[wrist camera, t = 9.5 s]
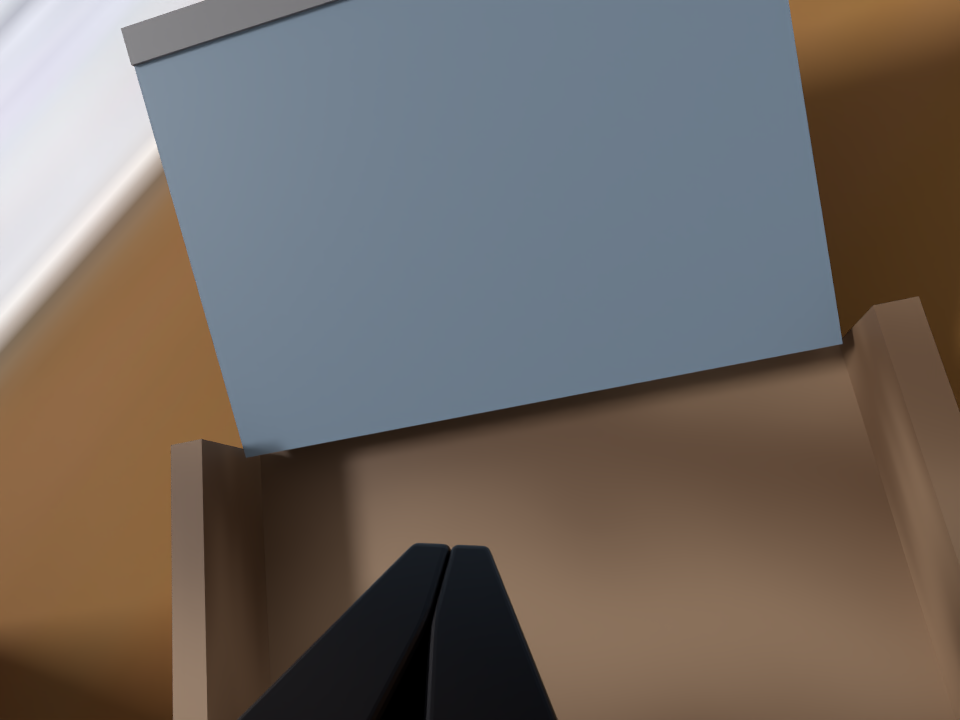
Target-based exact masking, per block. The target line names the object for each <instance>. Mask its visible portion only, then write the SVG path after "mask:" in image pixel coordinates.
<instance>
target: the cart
mask: <svg viewBox="0 0 960 720" xmlns="http://www.w3.org/2000/svg"><path fill="white" fill-rule="evenodd" d="M842 342H843V344H839V345H834V346H829V347H824V348H818V349H813V350H808V351H803V352H797V353H792V354H787V355H782V356H776V357H771V358H766V359H761V360H756V361H750V362H745V363H740V364H735V365H729V366H724V367H719V368H714V369H708V370H703V371H698V372H693V373H687V374H682V375H677V376H672V377H666V378H661V379H656V380H651V381H646V382H640V383H635V384H630V385H625V386H619V387H614V388H609V389H604V390H598V391H593V392H588V393H583V394H577V395H572V396H567V397H562V398H556V399H551V400H546V401H541V402H536V403H530V404H525V405H520V406H515V407H509V408H504V409H499V410H494V411H488V412H483V413H478V414H473V415H467V416H462V417H457V418H452V419H446V420H441V421H436V422H431V423H426V424H420V425H415V426H410V427H405V428H399V429H394V430H389V431H384V432H378V433H373V434H368V435H363V436H357V437H352V438H347V439H342V440H336V441H331V442H326V443H321V444H315V445H310V446H305V447H300V448H295V449H289V450H284V451H279V452H274V453H268V454H263V455H258V456H253V457H247V458H246V456H245V452H244V449H242V448H237V447H233V446H229V445H224V444H220V443H216V442H212V441H207V440H203V439H200V440H195V441H190V442H185V443H180V444H175V445H171V519H172V652H173V720H237V719H238V718H239V717H240V716H241V715H242V714H243V713H244V712H245V711H246V710H247V709H248V708H249V707H250V706H251V705H252V704H253V703H254V702H255V701H256V700H257V699H258V698H259V697H260V696H261V695H262V694H263V693H264V692H265V691H266V690H267V689H268V688H269V687H270V686H271V685H272V684H273V683H274V682H275V681H276V680H277V679H278V678H279V677H280V676H281V675H282V674H283V673H284V672H285V671H286V670H287V669H288V668H289V667H290V666H291V665H292V664H293V663H294V662H295V661H296V660H297V659H298V658H299V657H300V656H301V655H302V654H303V653H304V652H305V651H306V650H307V649H308V648H309V647H310V646H311V645H312V644H313V643H314V642H315V641H316V640H317V639H318V638H319V637H320V636H321V635H322V634H323V633H324V632H325V631H326V630H327V629H328V628H329V627H330V626H331V625H332V624H333V623H334V622H335V621H336V620H337V619H338V618H339V617H340V616H341V615H342V614H343V613H344V612H345V611H346V610H347V609H348V608H349V607H350V606H351V605H352V604H353V603H354V602H355V601H356V600H357V599H358V598H359V597H360V596H361V595H362V594H363V593H364V592H365V591H366V590H367V589H368V588H369V587H370V586H371V585H372V584H373V583H374V582H375V581H376V580H377V579H378V578H379V577H380V576H381V575H382V574H383V573H384V572H385V571H386V570H387V569H388V568H389V567H390V566H391V565H392V564H393V563H394V562H395V561H396V560H397V559H398V558H399V557H400V556H401V555H402V554H403V553H404V552H405V551H406V550H407V549H408V548H409V547H411V546H412V545H414V544H416V543H435V544H447V545H448V546H449V547H450V549H452V548H453V547H454V546H455V545H478V546H486V547H488V548H489V550H490V551H491V553H492V556H493V558H494V561H495V563H496V566H497V568H498V571H499V573H500V576H501V578H502V581H503V583H504V586H505V588H506V591H507V593H508V596H509V598H510V601H511V603H512V606H513V608H514V611H515V613H516V616H517V618H518V621H519V623H520V626H521V628H522V631H523V633H524V636H525V638H526V641H527V643H528V646H529V648H530V651H531V653H532V656H533V658H534V661H535V663H536V666H537V668H538V671H539V673H540V676H541V678H542V681H543V683H544V686H545V689H546V691H547V694H548V696H549V699H550V701H551V704H552V706H553V709H554V711H555V714H556V716H557V719H558V720H960V411H959V409H958V406H957V403H956V400H955V397H954V394H953V392H952V389H951V386H950V383H949V380H948V377H947V375H946V372H945V369H944V366H943V363H942V361H941V358H940V355H939V352H938V349H937V346H936V344H935V341H934V338H933V335H932V332H931V330H930V327H929V324H928V321H927V318H926V315H925V313H924V310H923V307H922V304H921V301H920V299H919V296H918V297H913V298H908V299H903V300H898V301H893V302H888V303H883V304H878V305H873V306H872V307H871V308H870V309H869V310H868V311H867V312H866V314H865V315H864V316H863V317H862V318H861V319H860V320H859V321H858V322H857V323H856V324H855V325H854V326H853V327H852V328H851V329H850V331H849V332H848V333H847V334H846V335H845V336H844V337H843V338H842Z"/></svg>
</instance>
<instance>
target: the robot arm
mask: <svg viewBox="0 0 960 720" xmlns="http://www.w3.org/2000/svg"><path fill="white" fill-rule="evenodd" d="M237 720H558V719H557V716H556V714H555V711H554V709H553V706H552V704H551V701H550V699H549V696H548V694H547V691H546V689H545V686H544V683H543V681H542V678H541V676H540V673H539V671H538V668H537V666H536V663H535V661H534V658H533V656H532V653H531V651H530V648H529V646H528V643H527V641H526V638H525V636H524V633H523V631H522V628H521V626H520V623H519V621H518V618H517V616H516V613H515V611H514V608H513V606H512V603H511V601H510V598H509V596H508V593H507V591H506V588H505V586H504V583H503V581H502V578H501V576H500V573H499V571H498V568H497V566H496V563H495V561H494V558H493V556H492V553H491V551H490V550H489V548H488V547H486V546H478V545H455V546H454V547H453V548H452V549H450V547H449V546H448V545H447V544H435V543H416V544H414V545H412V546H411V547H409V548H408V549H407V550H406V551H405V552H404V553H403V554H402V555H401V556H400V557H399V558H398V559H397V560H396V561H395V562H394V563H393V564H392V565H391V566H390V567H389V568H388V569H387V570H386V571H385V572H384V573H383V574H382V575H381V576H380V577H379V578H378V579H377V580H376V581H375V582H374V583H373V584H372V585H371V586H370V587H369V588H368V589H367V590H366V591H365V592H364V593H363V594H362V595H361V596H360V597H359V598H358V599H357V600H356V601H355V602H354V603H353V604H352V605H351V606H350V607H349V608H348V609H347V610H346V611H345V612H344V613H343V614H342V615H341V616H340V617H339V618H338V619H337V620H336V621H335V622H334V623H333V624H332V625H331V626H330V627H329V628H328V629H327V630H326V631H325V632H324V633H323V634H322V635H321V636H320V637H319V638H318V639H317V640H316V641H315V642H314V643H313V644H312V645H311V646H310V647H309V648H308V649H307V650H306V651H305V652H304V653H303V654H302V655H301V656H300V657H299V658H298V659H297V660H296V661H295V662H294V663H293V664H292V665H291V666H290V667H289V668H288V669H287V670H286V671H285V672H284V673H283V674H282V675H281V676H280V677H279V678H278V679H277V680H276V681H275V682H274V683H273V684H272V685H271V686H270V687H269V688H268V689H267V690H266V691H265V692H264V693H263V694H262V695H261V696H260V697H259V698H258V699H257V700H256V701H255V702H254V703H253V704H252V705H251V706H250V707H249V708H248V709H247V710H246V711H245V712H244V713H243V714H242V715H241V716H240V717H239V718H238V719H237Z"/></svg>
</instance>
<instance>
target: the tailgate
mask: <svg viewBox="0 0 960 720" xmlns="http://www.w3.org/2000/svg"><path fill="white" fill-rule="evenodd" d="M121 30H122V34H123V37H124V41H125V44H126V48H127V51H128V55H129V58H130V62H131V65H133V66H134V67H135V70H136V74H137V77H138V81H139V84H140V88H141V91H142V95H143V98H144V102H145V105H146V109H147V112H148V116H149V119H150V123H151V126H152V130H153V133H154V137H155V140H156V144H157V147H158V151H159V154H160V158H161V161H162V165H163V168H164V172H165V175H166V179H167V182H168V186H169V189H170V193H171V196H172V200H173V203H174V207H175V210H176V214H177V217H178V221H179V224H180V228H181V231H182V235H183V238H184V242H185V246H186V249H187V253H188V256H189V260H190V263H191V267H192V270H193V274H194V277H195V281H196V284H197V288H198V291H199V295H200V298H201V302H202V305H203V309H204V312H205V316H206V319H207V323H208V326H209V330H210V333H211V337H212V340H213V344H214V347H215V351H216V354H217V358H218V361H219V365H220V368H221V372H222V375H223V379H224V382H225V386H226V389H227V393H228V396H229V400H230V403H231V407H232V410H233V414H234V417H235V421H236V424H237V428H238V431H239V435H240V438H241V442H242V445H243V449H244V452H245V456H246V458H247V457H253V456H258V455H263V454H268V453H274V452H279V451H284V450H289V449H295V448H300V447H305V446H310V445H315V444H321V443H326V442H331V441H336V440H342V439H347V438H352V437H357V436H363V435H368V434H373V433H378V432H384V431H389V430H394V429H399V428H405V427H410V426H415V425H420V424H426V423H431V422H436V421H441V420H446V419H452V418H457V417H462V416H467V415H473V414H478V413H483V412H488V411H494V410H499V409H504V408H509V407H515V406H520V405H525V404H530V403H536V402H541V401H546V400H551V399H556V398H562V397H567V396H572V395H577V394H583V393H588V392H593V391H598V390H604V389H609V388H614V387H619V386H625V385H630V384H635V383H640V382H646V381H651V380H656V379H661V378H666V377H672V376H677V375H682V374H687V373H693V372H698V371H703V370H708V369H714V368H719V367H724V366H729V365H735V364H740V363H745V362H750V361H756V360H761V359H766V358H771V357H776V356H782V355H787V354H792V353H797V352H803V351H808V350H813V349H818V348H824V347H829V346H834V345H839V344H843V342H842V336H841V330H840V323H839V317H838V311H837V305H836V298H835V292H834V286H833V279H832V273H831V267H830V260H829V254H828V248H827V241H826V235H825V229H824V223H823V216H822V210H821V204H820V197H819V191H818V185H817V178H816V172H815V166H814V160H813V153H812V147H811V141H810V134H809V128H808V122H807V115H806V109H805V103H804V97H803V90H802V84H801V78H800V71H799V65H798V59H797V52H796V46H795V40H794V33H793V27H792V21H791V15H790V8H789V2H788V0H205V1H202V2H199V3H196V4H193V5H190V6H187V7H184V8H181V9H178V10H175V11H172V12H169V13H166V14H163V15H160V16H157V17H154V18H151V19H148V20H145V21H142V22H139V23H136V24H133V25H130V26H127V27H124V28H121Z"/></svg>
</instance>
